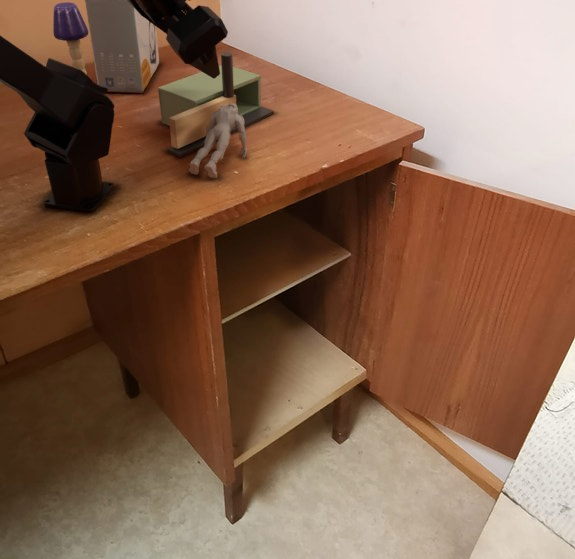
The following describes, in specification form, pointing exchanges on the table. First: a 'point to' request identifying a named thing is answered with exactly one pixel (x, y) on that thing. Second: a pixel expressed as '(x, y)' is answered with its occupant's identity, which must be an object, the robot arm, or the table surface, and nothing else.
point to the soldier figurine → (220, 137)
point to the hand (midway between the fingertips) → (200, 59)
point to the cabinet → (207, 89)
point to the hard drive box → (121, 45)
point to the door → (202, 110)
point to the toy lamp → (70, 31)
